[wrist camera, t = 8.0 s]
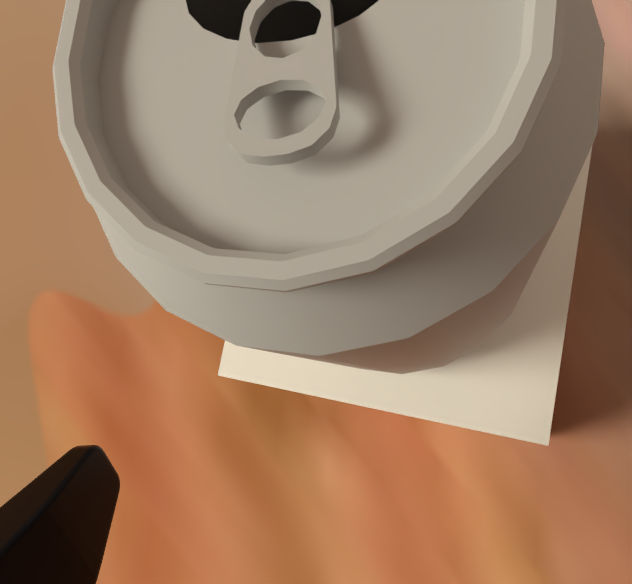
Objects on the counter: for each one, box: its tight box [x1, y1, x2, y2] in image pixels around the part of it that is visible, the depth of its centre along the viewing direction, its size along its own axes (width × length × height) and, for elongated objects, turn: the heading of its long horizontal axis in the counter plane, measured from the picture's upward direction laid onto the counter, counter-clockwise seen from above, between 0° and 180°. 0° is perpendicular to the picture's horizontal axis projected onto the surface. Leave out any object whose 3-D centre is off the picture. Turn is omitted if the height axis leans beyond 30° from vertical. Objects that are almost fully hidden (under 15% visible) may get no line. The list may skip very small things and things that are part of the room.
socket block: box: [218, 144, 593, 446], centre depth 20 cm, size 10×10×3 cm
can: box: [53, 0, 604, 374], centre depth 12 cm, size 8×8×12 cm
